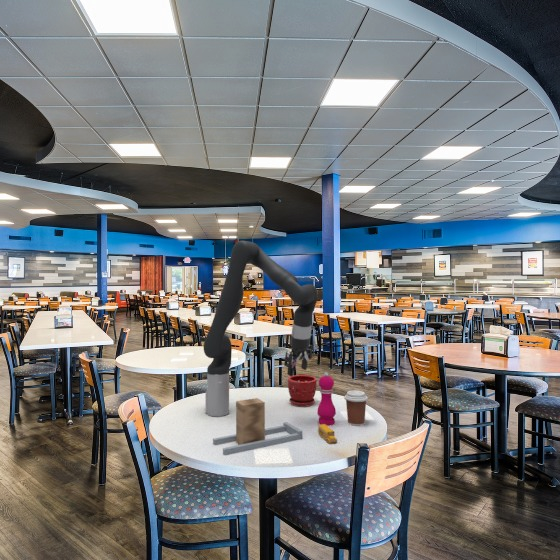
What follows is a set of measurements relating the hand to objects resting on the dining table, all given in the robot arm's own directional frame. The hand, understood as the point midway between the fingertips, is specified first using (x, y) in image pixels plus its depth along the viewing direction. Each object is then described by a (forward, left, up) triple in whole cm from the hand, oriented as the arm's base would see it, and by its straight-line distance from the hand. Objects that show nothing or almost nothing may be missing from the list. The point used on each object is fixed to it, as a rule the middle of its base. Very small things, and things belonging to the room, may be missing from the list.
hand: (297, 372), depth 163 cm
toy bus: (+18, -11, -20) cm, 29 cm away
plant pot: (-10, +23, -20) cm, 32 cm away
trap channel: (-1, -26, -19) cm, 33 cm away
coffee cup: (+21, +10, -20) cm, 30 cm away
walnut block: (-2, -29, -19) cm, 35 cm away
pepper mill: (+11, +4, -20) cm, 23 cm away
